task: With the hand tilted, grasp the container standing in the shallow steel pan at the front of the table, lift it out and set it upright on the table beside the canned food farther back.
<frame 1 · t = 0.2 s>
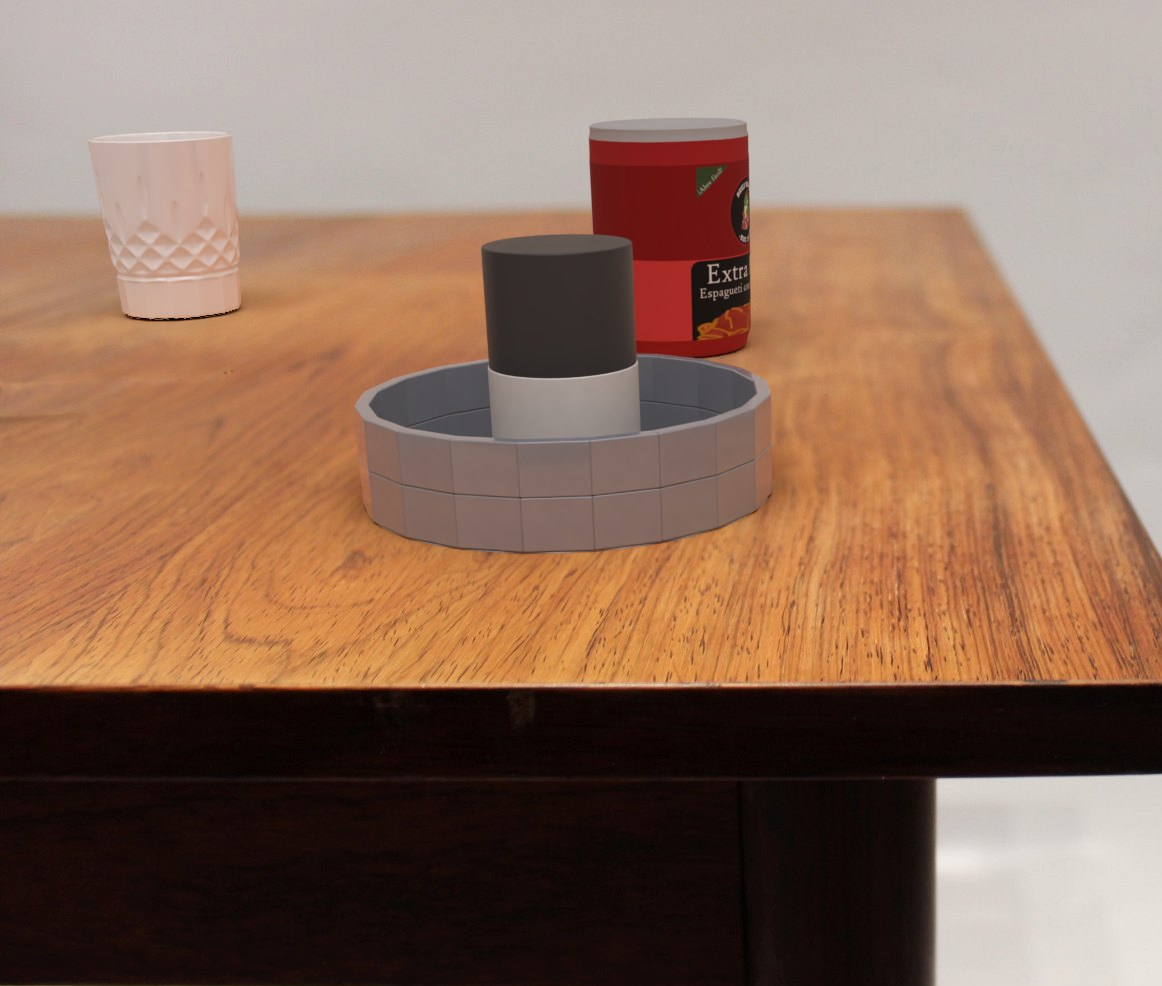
container: (569, 490, 58), resting on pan
white cup: (183, 314, 99), on the table
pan: (570, 504, 59), on the table
canned food: (674, 348, 86), on the table
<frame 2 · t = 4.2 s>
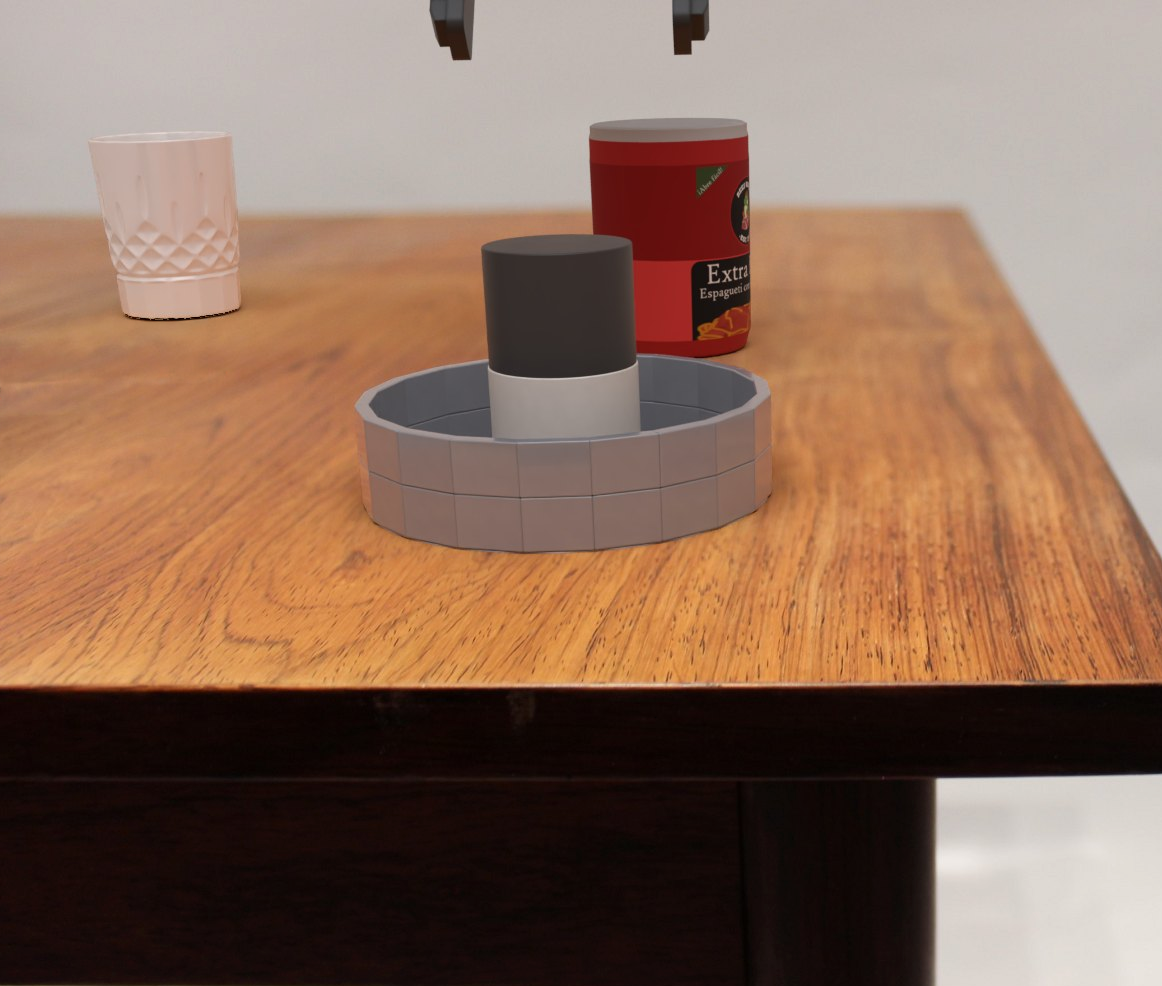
hand: (569, 42, 64), 15 cm above the table, tool tilted 45°, fingers open, 8 cm apart
nothing on the table moved.
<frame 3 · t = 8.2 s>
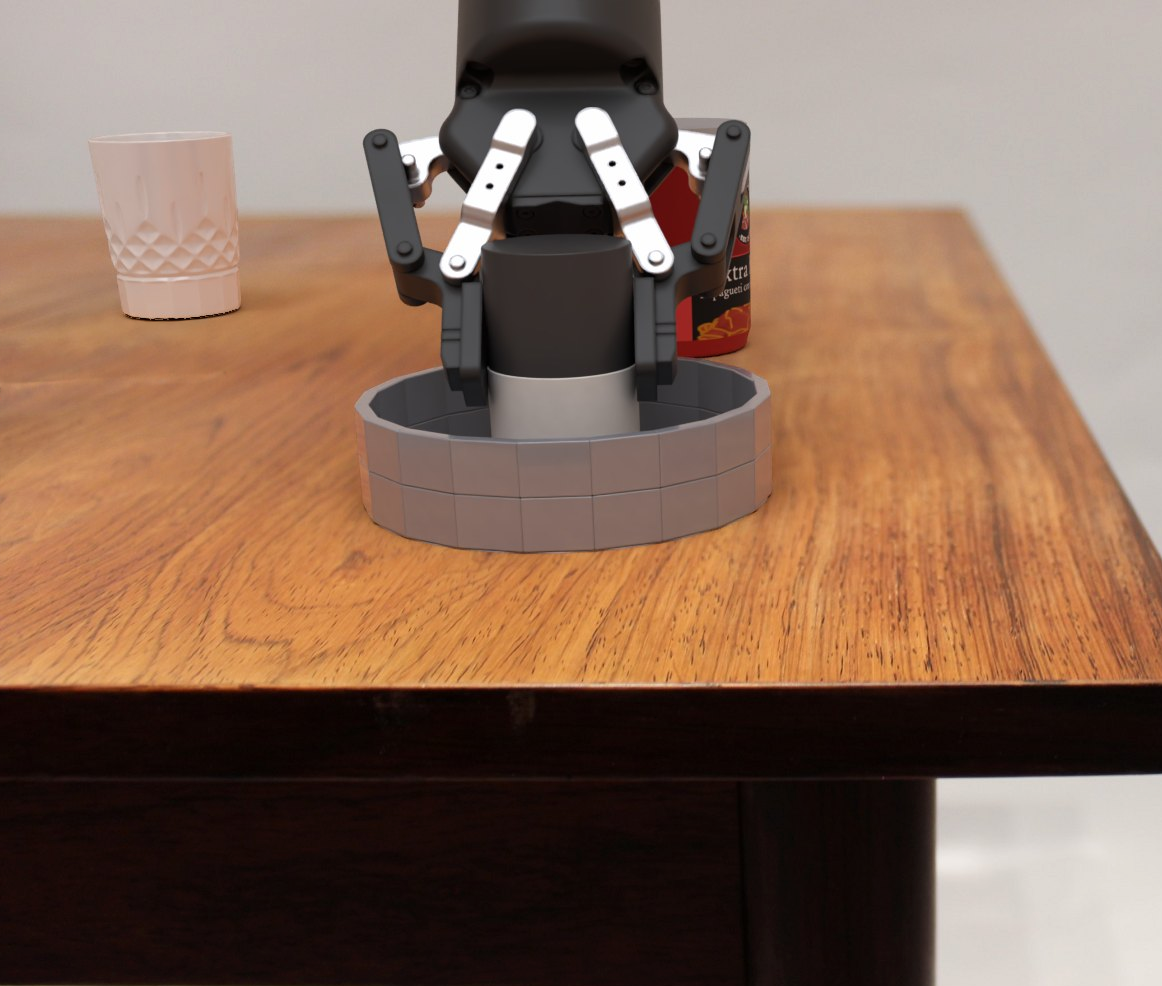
hand: (559, 389, 55), 4 cm above the table, tool tilted 45°, fingers closed on container, 5 cm apart
container: (568, 490, 58), point 1 cm above the table, touching gripper, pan
everything else where it was.
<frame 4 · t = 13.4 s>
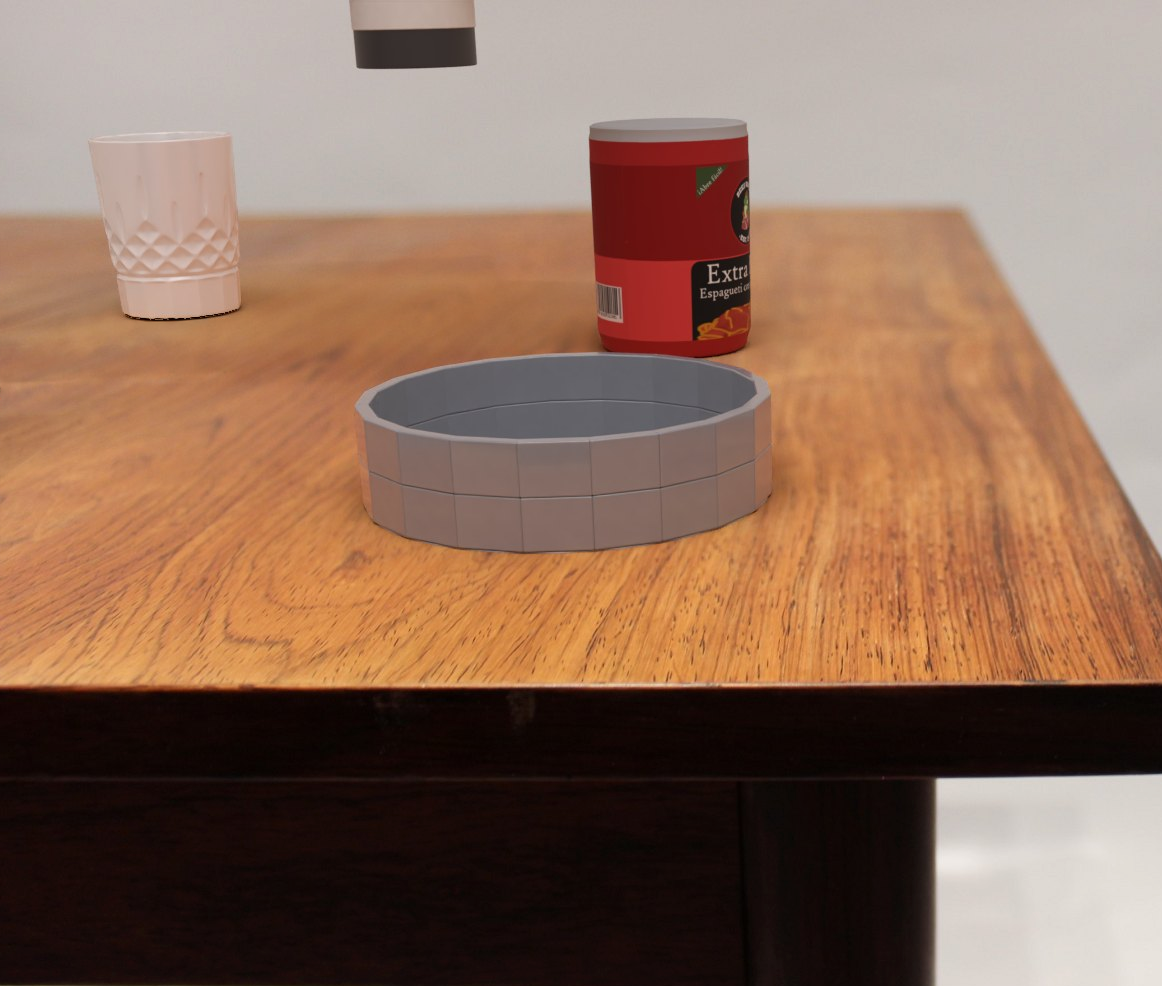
container: (417, 66, 70), point 14 cm above the table, touching gripper
everything else where it was.
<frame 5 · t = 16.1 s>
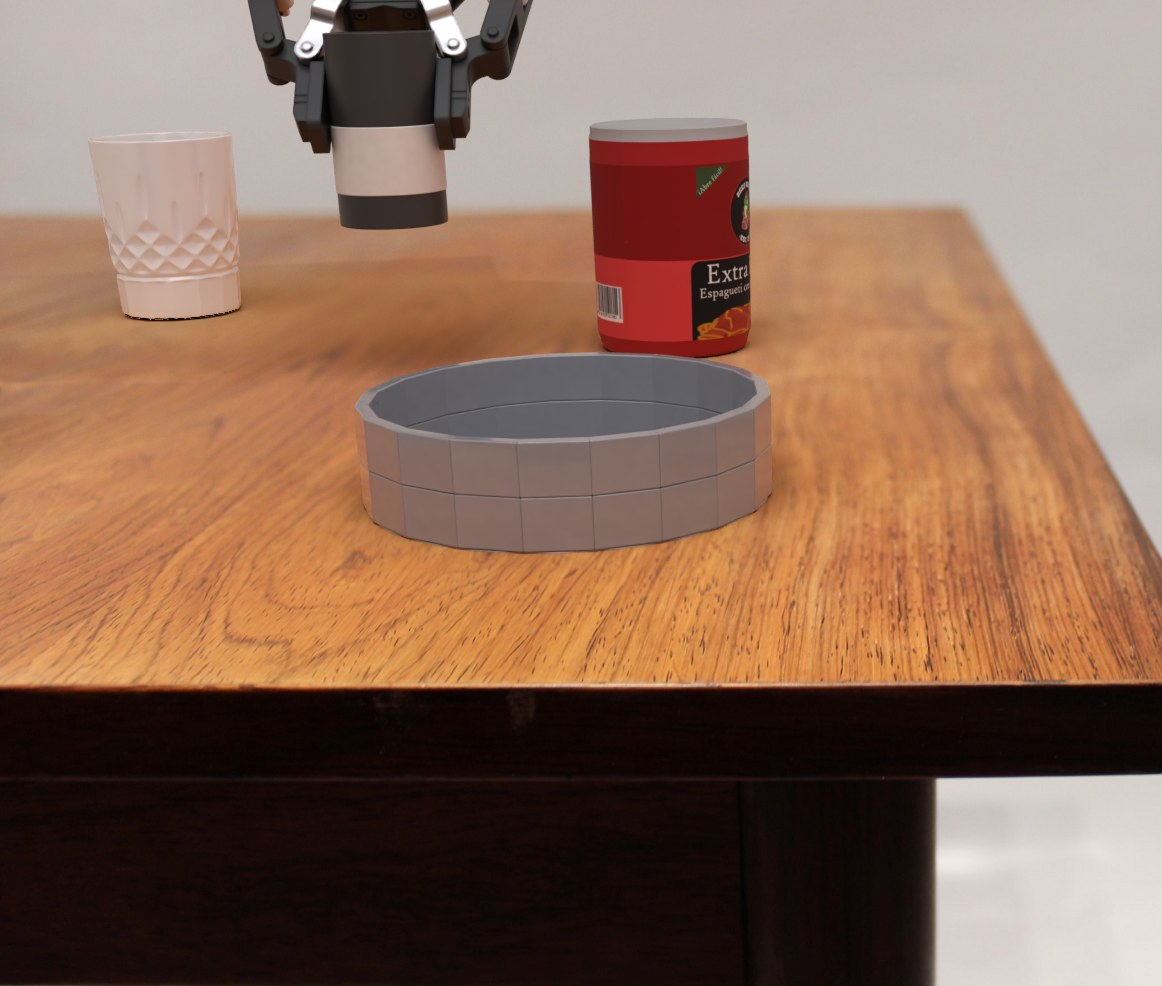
hand: (380, 138, 76), 11 cm above the table, tool tilted 45°, fingers closed on container, 5 cm apart
container: (394, 223, 79), point 7 cm above the table, touching gripper
everything else where it was.
when the fingers open (4 cm above the table, at t = 18.5 s): container stays where it is, on the table.
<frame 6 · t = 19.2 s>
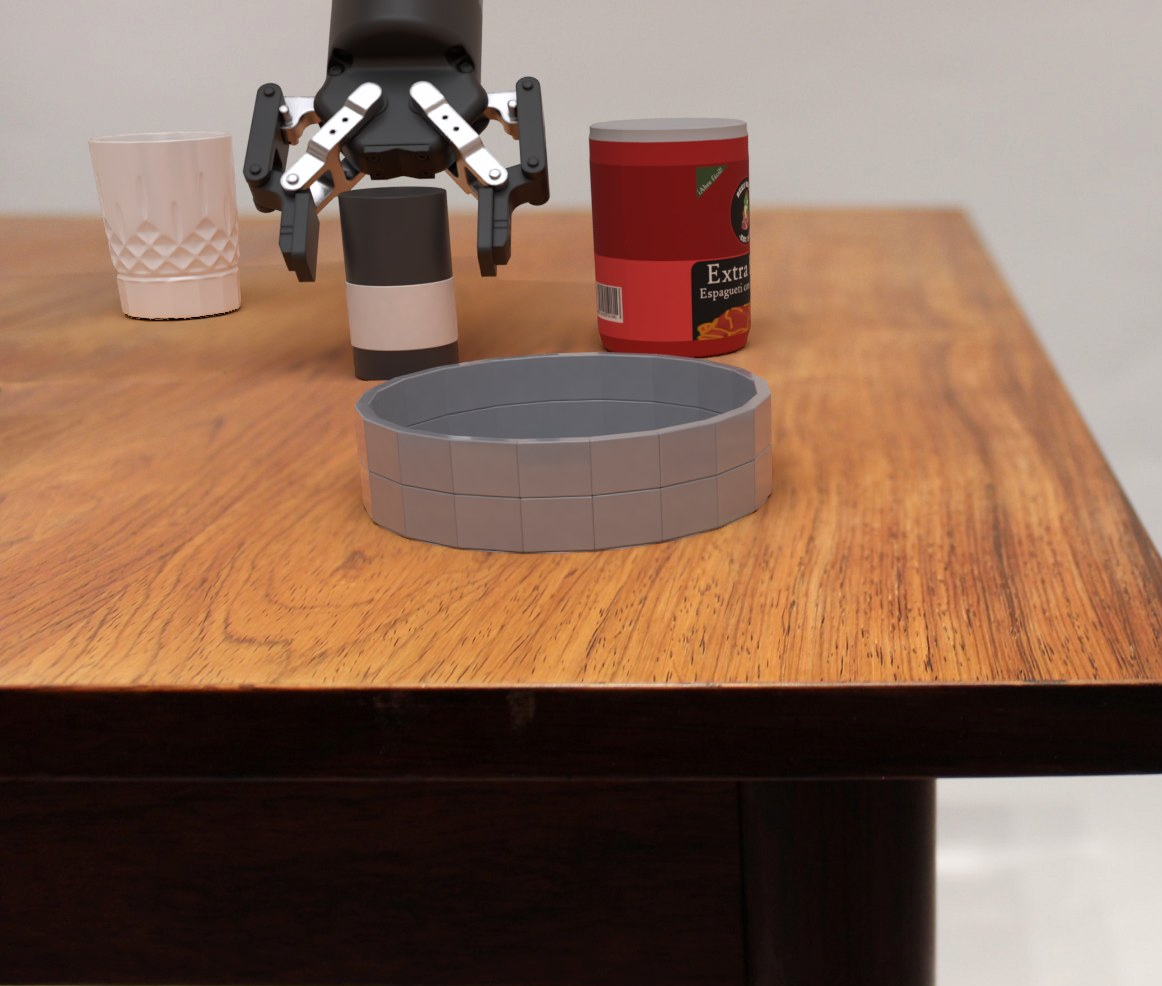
hand: (394, 269, 78), 5 cm above the table, tool tilted 45°, fingers open, 8 cm apart
container: (407, 371, 81), on the table
everything else where it was.
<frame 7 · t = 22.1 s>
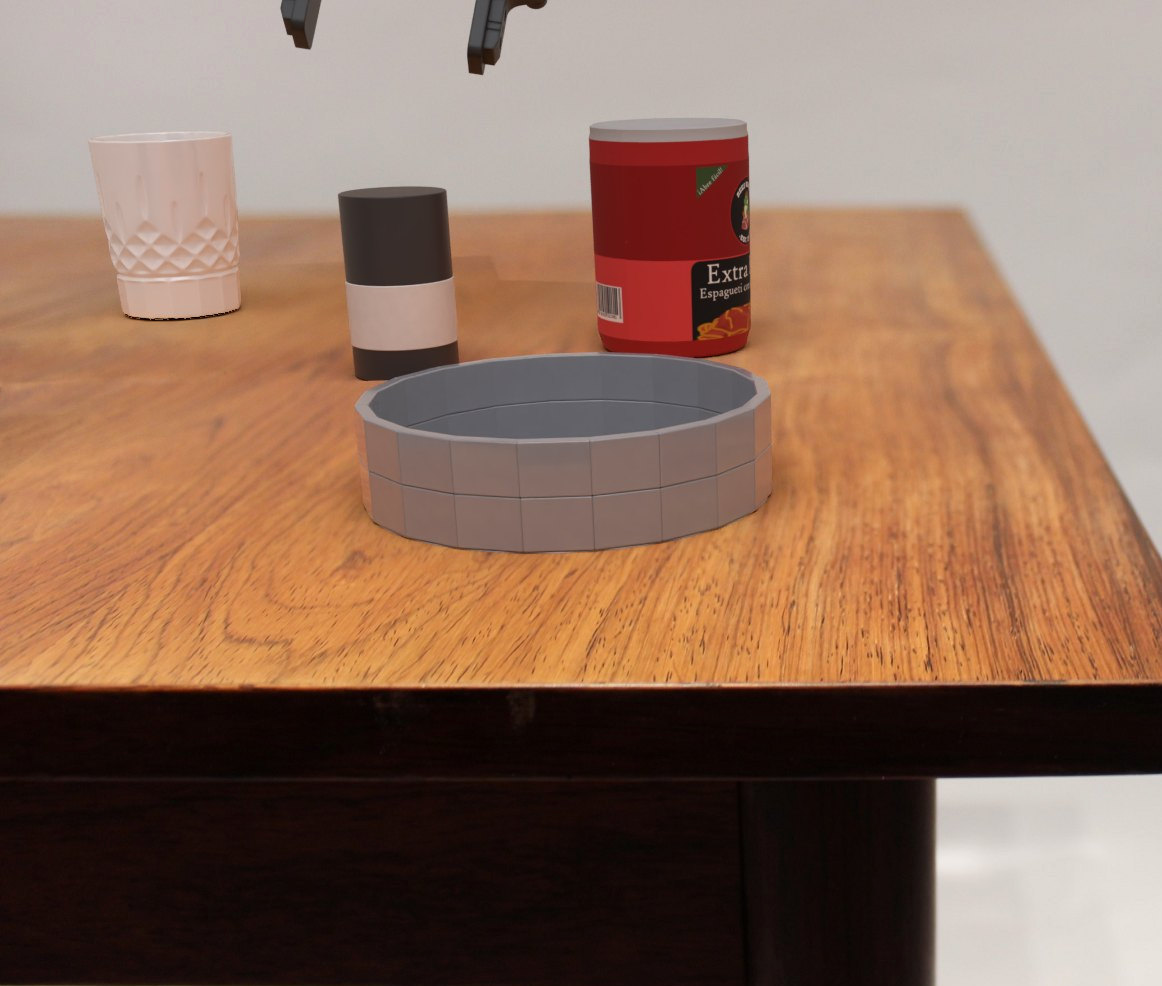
hand: (387, 52, 82), 15 cm above the table, tool tilted 35°, fingers open, 8 cm apart
nothing on the table moved.
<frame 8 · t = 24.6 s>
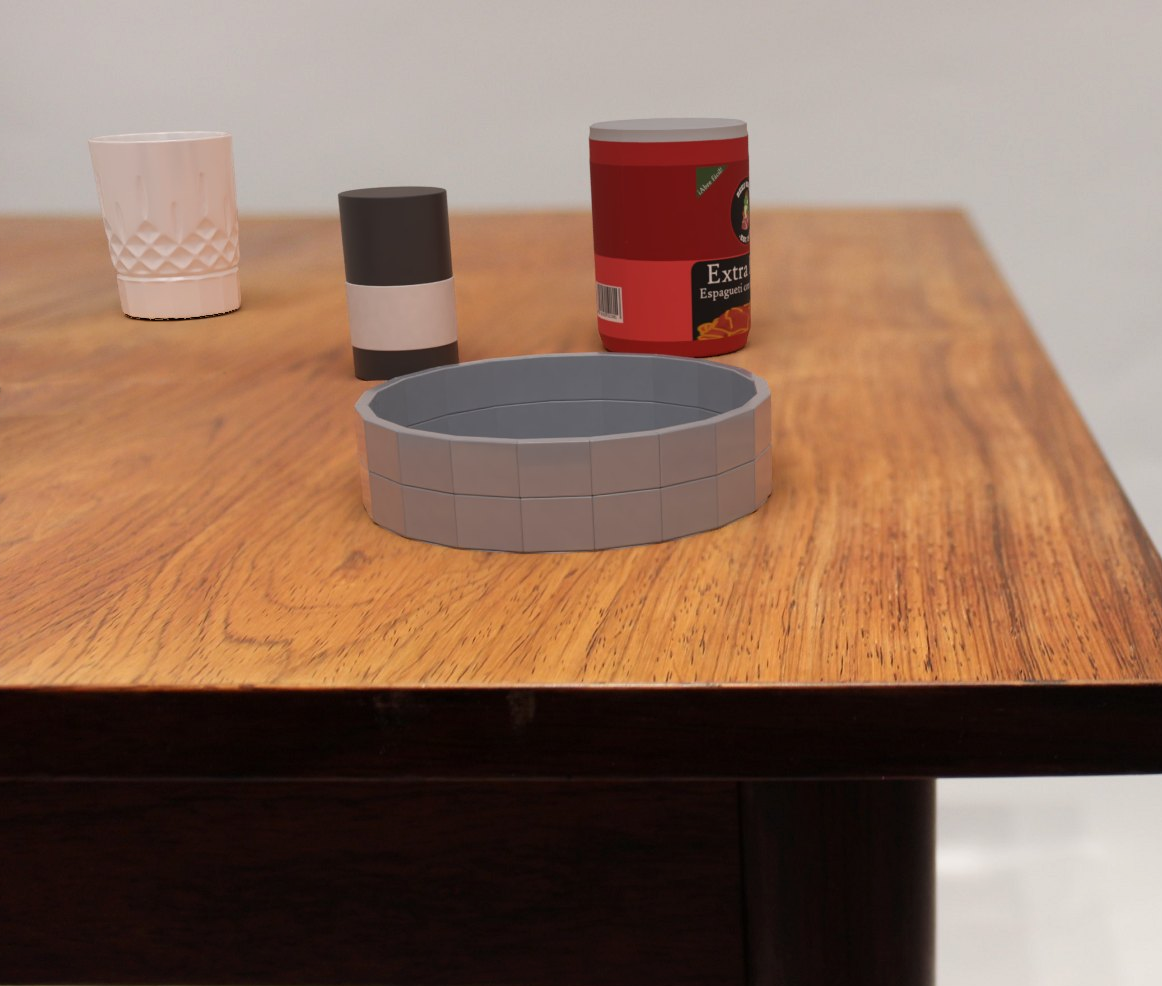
nothing on the table moved.
at the end: container touching table; container 13.9 cm from the canned food (horizontally); container tilted 0° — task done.
